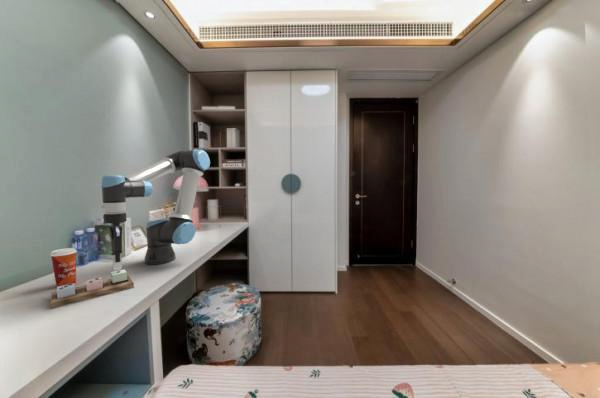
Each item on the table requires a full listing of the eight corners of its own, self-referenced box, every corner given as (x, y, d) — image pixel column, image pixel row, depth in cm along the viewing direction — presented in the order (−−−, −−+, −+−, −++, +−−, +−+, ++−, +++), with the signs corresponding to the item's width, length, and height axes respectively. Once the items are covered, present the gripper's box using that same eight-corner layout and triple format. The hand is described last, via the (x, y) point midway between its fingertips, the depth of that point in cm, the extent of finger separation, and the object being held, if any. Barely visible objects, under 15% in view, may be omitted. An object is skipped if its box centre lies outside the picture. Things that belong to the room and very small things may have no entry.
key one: (125, 276, 105) (124, 268, 105) (127, 279, 102) (126, 271, 102) (111, 279, 102) (110, 271, 102) (112, 283, 99) (112, 274, 98)
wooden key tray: (128, 279, 109) (128, 275, 109) (133, 287, 101) (133, 282, 101) (52, 297, 93) (51, 292, 93) (51, 308, 84) (50, 303, 84)
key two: (101, 284, 100) (101, 276, 100) (102, 288, 96) (102, 279, 96) (86, 288, 97) (85, 279, 96) (86, 292, 93) (86, 283, 93)
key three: (75, 291, 94) (74, 282, 94) (75, 295, 91) (74, 286, 91) (57, 295, 91) (56, 286, 91) (57, 299, 88) (56, 290, 87)
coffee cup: (62, 289, 100) (60, 253, 99) (47, 287, 101) (44, 252, 100) (84, 281, 108) (82, 247, 107) (69, 279, 110) (67, 247, 109)
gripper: (101, 212, 102) (104, 267, 103) (105, 214, 93) (108, 275, 94) (123, 211, 107) (125, 263, 109) (128, 213, 98) (131, 270, 99)
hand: (117, 269), depth 101 cm, fingers closed
